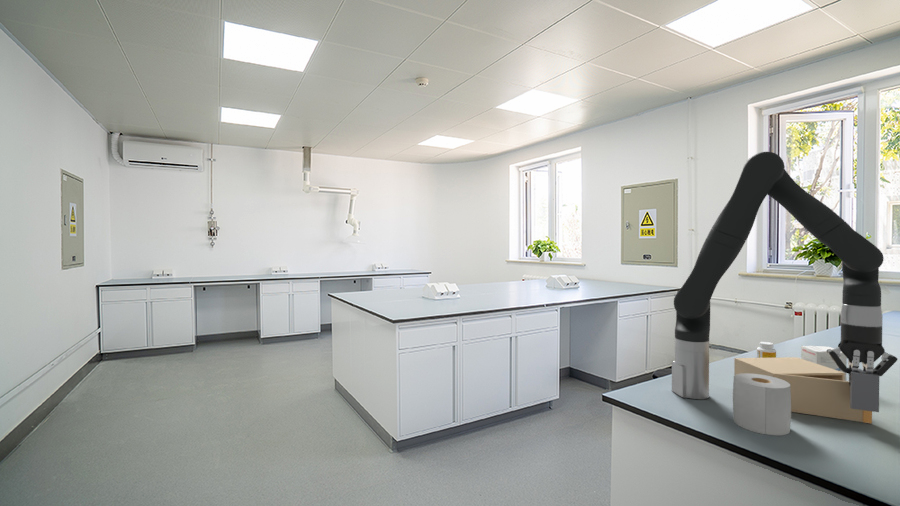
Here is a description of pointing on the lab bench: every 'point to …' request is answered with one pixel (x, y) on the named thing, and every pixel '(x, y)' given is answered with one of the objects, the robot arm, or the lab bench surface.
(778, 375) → the carton flap
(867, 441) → the lab bench surface
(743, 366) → the carton
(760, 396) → the toilet paper roll
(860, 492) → the lab bench surface
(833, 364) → the ink box
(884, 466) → the lab bench surface
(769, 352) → the supplement bottle
